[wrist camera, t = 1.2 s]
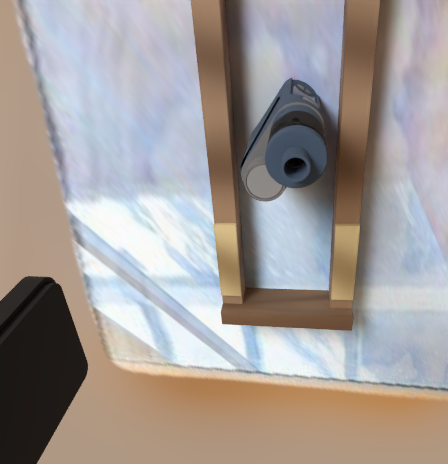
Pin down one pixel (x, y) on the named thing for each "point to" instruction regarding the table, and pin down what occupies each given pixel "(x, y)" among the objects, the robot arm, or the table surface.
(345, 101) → the rail channel
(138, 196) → the table surface
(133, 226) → the table surface
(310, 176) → the vaping device
